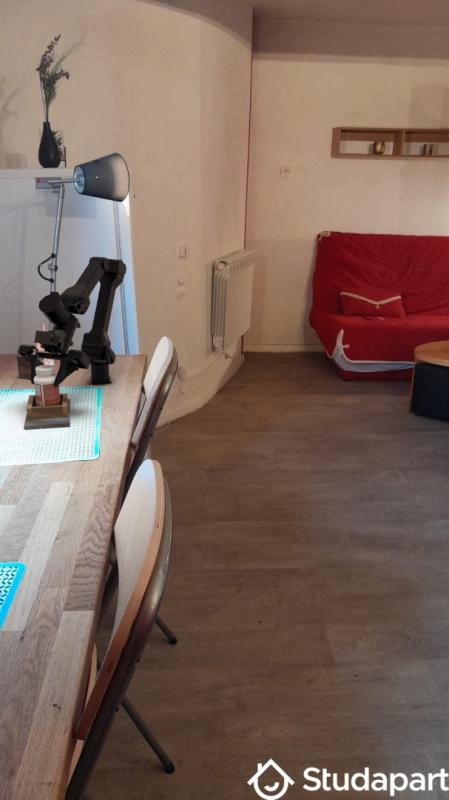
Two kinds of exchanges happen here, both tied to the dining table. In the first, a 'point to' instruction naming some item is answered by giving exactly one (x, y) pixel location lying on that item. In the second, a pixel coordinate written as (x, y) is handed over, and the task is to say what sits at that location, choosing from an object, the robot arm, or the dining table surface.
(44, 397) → the pill bottle
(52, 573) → the dining table surface
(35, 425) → the socket
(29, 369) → the box
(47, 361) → the beverage cup
